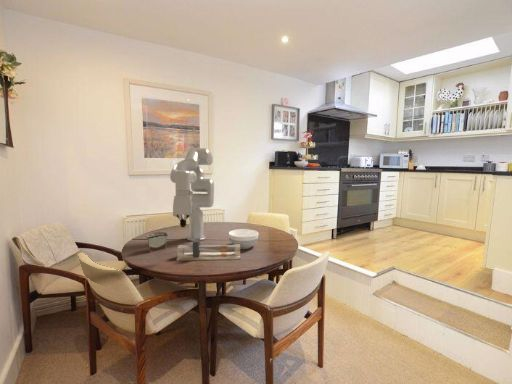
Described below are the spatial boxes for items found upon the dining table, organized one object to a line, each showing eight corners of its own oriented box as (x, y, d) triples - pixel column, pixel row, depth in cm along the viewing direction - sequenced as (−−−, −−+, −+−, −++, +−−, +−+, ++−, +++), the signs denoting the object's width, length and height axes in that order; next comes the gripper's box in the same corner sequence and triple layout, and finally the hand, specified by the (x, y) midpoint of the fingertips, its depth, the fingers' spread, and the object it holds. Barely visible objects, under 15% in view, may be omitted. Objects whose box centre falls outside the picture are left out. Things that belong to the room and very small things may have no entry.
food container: (163, 246, 156) (163, 230, 155) (168, 248, 152) (167, 232, 151) (143, 250, 147) (142, 234, 146) (147, 253, 143) (147, 236, 142)
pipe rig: (180, 254, 142) (179, 243, 141) (239, 253, 145) (239, 242, 144) (176, 260, 133) (176, 249, 132) (240, 259, 136) (240, 247, 136)
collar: (194, 252, 142) (194, 238, 141) (200, 252, 142) (200, 238, 141) (193, 257, 134) (192, 242, 134) (198, 256, 135) (198, 242, 134)
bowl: (223, 248, 153) (223, 234, 153) (236, 240, 171) (236, 227, 170) (251, 252, 147) (251, 238, 146) (262, 243, 164) (262, 230, 163)
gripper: (197, 192, 138) (198, 225, 140) (170, 192, 137) (170, 225, 138) (196, 194, 131) (196, 228, 132) (166, 193, 129) (167, 228, 131)
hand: (183, 226), depth 135 cm, fingers closed
